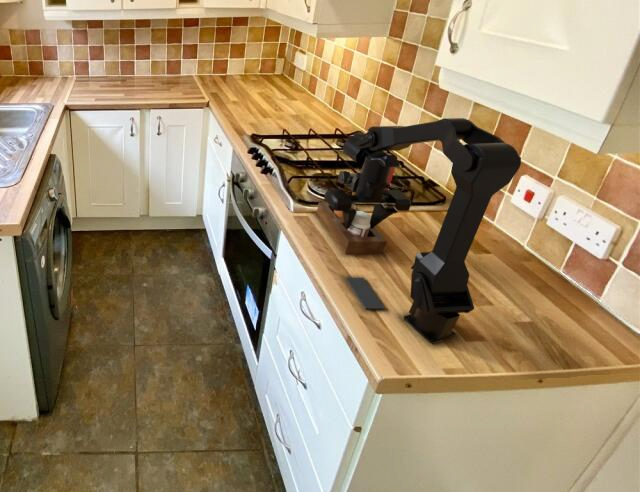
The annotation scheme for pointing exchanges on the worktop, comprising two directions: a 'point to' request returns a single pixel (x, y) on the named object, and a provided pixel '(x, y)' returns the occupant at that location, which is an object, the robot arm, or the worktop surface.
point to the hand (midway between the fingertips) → (358, 227)
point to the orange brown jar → (339, 213)
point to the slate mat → (365, 294)
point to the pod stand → (346, 242)
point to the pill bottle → (360, 225)
